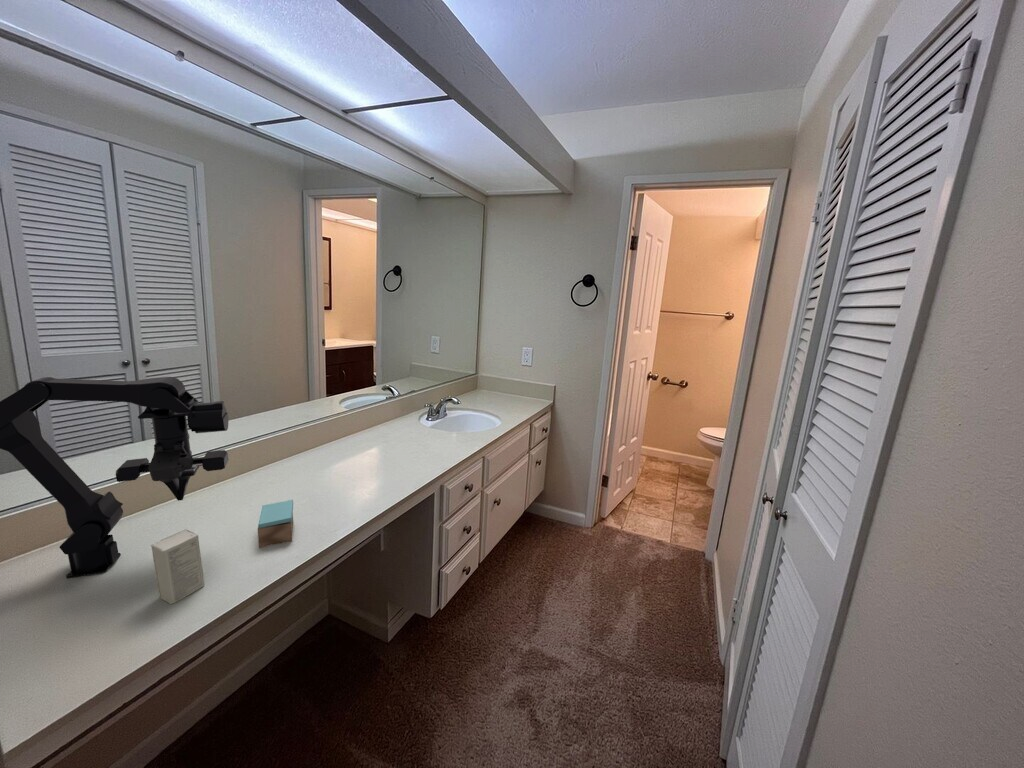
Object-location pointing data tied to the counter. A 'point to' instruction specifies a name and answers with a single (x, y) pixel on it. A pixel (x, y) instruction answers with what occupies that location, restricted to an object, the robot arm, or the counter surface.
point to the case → (275, 534)
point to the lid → (276, 513)
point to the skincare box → (178, 565)
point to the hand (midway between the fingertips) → (180, 499)
